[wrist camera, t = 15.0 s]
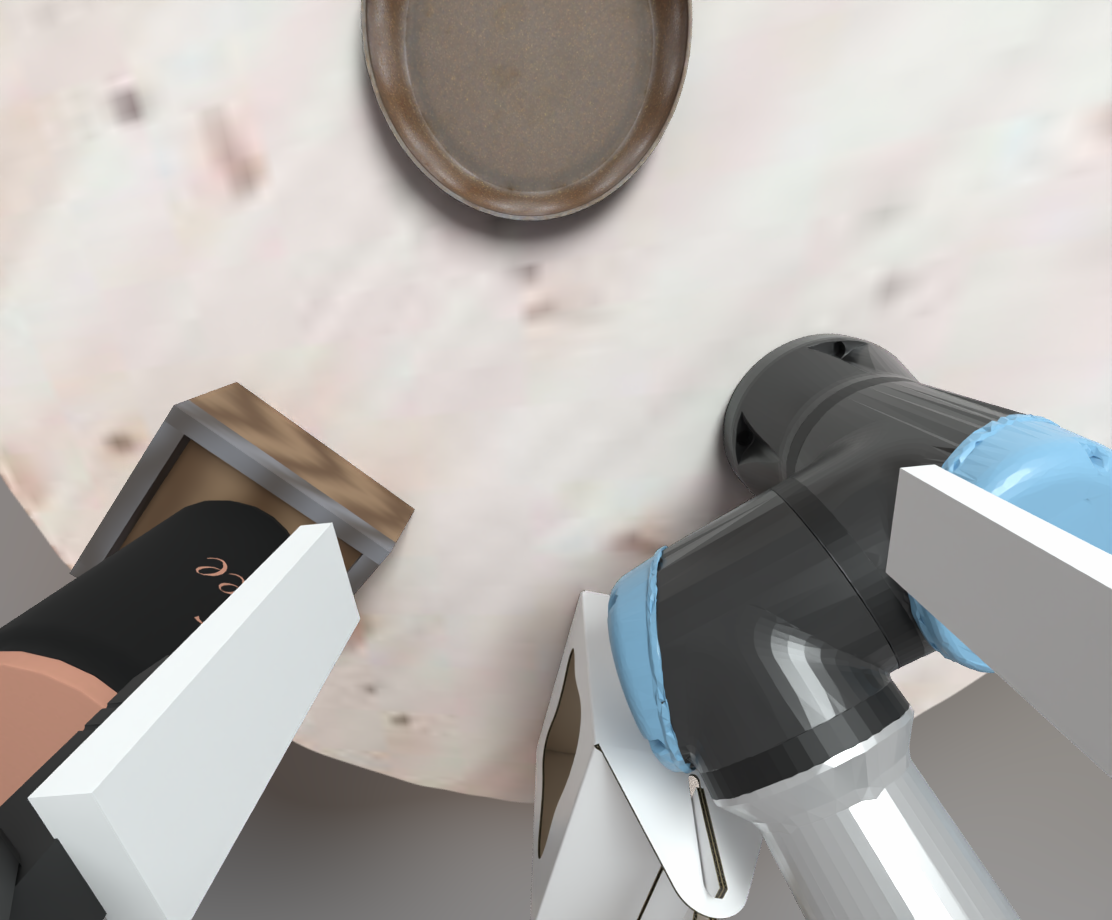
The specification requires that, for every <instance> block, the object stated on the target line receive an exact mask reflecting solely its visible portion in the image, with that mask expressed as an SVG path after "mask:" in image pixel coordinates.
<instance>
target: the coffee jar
mask: <svg viewBox="0 0 1112 920" xmlns="http://www.w3.org/2000/svg"><path fill="white" fill-rule="evenodd" d="M289 537H290V534H289V532H288V531H287V529H286V528H285V527H283V526H282V525H281V524H280V523H279V522H278V521H277V520H276V519H275V518H274V517H273V516H271V515H269V514H268V513H266V512H264V511H262V510H261V509H259V508H257V507H255V506H251V505H247V504H244V503H240V502H234V501H231V500H208V501H202V502H199V503H196V504H193V505H190V506H187V507H184V508H183V509H181V510H180V511H178V512H177V513H175V514H174V515H172V516H170V517H169V518H167V519H166V520H164V521H163V522H161V523H160V524H158V525H157V526H155V527H154V528H152V529H151V530H149V531H148V532H146V533H145V534H143V535H142V536H140V537H139V538H137V539H135V540H134V541H132V542H131V543H129V544H128V545H126V546H125V547H123V548H122V549H120V550H119V551H117V552H116V553H114V554H113V555H111V556H110V557H108V558H107V559H105V560H104V561H102V562H101V563H99V564H97V565H96V566H94V567H93V568H91V569H90V570H88V571H87V572H85V573H84V574H82V575H81V576H79V577H78V578H76V579H75V580H73V581H72V582H70V583H69V584H67V585H66V586H64V587H63V588H61V589H59V590H58V591H57V592H55V593H53V594H52V595H50V596H49V597H47V598H46V599H44V600H43V601H41V602H40V603H38V604H37V605H35V606H34V607H32V608H31V609H29V610H28V611H26V612H24V613H23V614H21V615H20V616H18V617H17V618H15V619H14V620H12V621H11V622H9V623H8V624H7V625H5V626H3V627H2V628H0V806H1V805H2V804H3V803H4V802H5V801H6V800H7V799H8V798H9V797H10V796H12V795H13V794H14V793H15V792H16V791H17V790H18V789H19V788H20V787H21V786H22V785H23V784H24V783H25V782H26V781H27V780H28V779H29V778H30V777H31V776H32V775H33V774H34V773H35V772H36V771H37V770H38V769H40V768H41V767H42V766H43V765H44V764H45V763H46V762H47V761H48V760H49V759H50V758H51V757H52V756H53V755H54V754H55V753H56V752H57V751H58V750H59V749H60V748H61V747H62V746H63V745H64V744H65V743H67V742H68V741H69V740H70V739H71V738H72V737H73V736H74V735H75V734H76V733H77V732H78V731H83V730H84V728H85V726H84V725H85V724H86V723H87V722H88V721H89V720H90V719H91V718H92V717H94V716H95V715H96V714H97V713H98V712H99V711H100V710H101V709H103V708H106V707H107V703H108V702H109V701H110V700H111V699H112V698H113V697H114V696H115V695H116V694H117V693H118V692H119V691H120V690H122V689H123V688H124V687H125V686H126V685H127V684H128V683H129V682H130V681H131V680H132V679H133V678H134V677H136V676H137V675H139V674H140V673H142V672H143V671H145V670H146V669H148V668H149V667H150V666H152V665H153V664H155V663H156V662H158V661H159V660H161V659H162V658H164V657H165V656H167V655H171V654H172V653H173V652H174V651H175V650H176V649H177V648H178V647H179V646H180V645H181V644H182V643H183V642H184V641H185V640H186V639H187V638H188V637H189V636H190V635H191V634H192V633H193V632H194V631H195V630H196V629H197V628H198V627H199V626H200V625H201V624H202V623H203V622H204V621H205V620H206V619H207V618H208V617H209V616H210V615H211V614H212V613H213V612H214V611H215V610H216V609H217V608H218V607H219V606H220V605H221V604H222V603H223V602H224V601H226V600H227V599H228V598H229V597H230V596H231V595H232V594H233V593H234V592H235V591H236V590H237V589H238V588H239V587H240V586H241V585H242V584H243V583H244V582H245V581H246V580H247V579H248V578H249V577H250V576H251V575H252V574H253V573H254V572H255V571H256V570H257V569H258V568H259V567H260V566H261V565H262V564H263V563H264V562H265V561H266V560H267V559H268V558H269V557H270V556H271V555H272V554H273V553H274V552H275V551H276V550H277V549H278V548H279V547H280V546H281V545H282V544H283V543H284V542H285V541H286V540H287V539H288V538H289Z"/></svg>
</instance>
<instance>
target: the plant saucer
mask: <svg viewBox="0 0 1112 920" xmlns="http://www.w3.org/2000/svg"><path fill="white" fill-rule="evenodd" d="M361 26H362V38H363V47H364V54H365V59H366V64H367V69H368V73H369V76H370V80H371V83H372V87H373V90H374V93H375V96H376V99H377V102H378V104H379V107H380V109H381V111H382V113H383V115H384V117H385V119H386V121H387V123H388V125H389V127H390V129H391V131H392V133H393V135H394V136H395V138H396V140H397V141H398V142H399V144H400V145H401V147H402V148H403V150H404V151H405V152H406V154H407V155H408V156H409V158H410V159H411V160H412V161H413V163H414V164H415V165H416V166H417V167H418V168H419V169H420V170H421V171H422V172H423V174H425V175H426V176H427V177H428V178H429V179H430V180H431V181H432V182H433V183H434V184H436V185H437V186H438V187H439V188H441V189H442V190H443V191H444V192H446V193H447V194H449V195H450V196H452V197H453V198H455V199H456V200H458V201H460V202H462V203H464V204H466V205H467V206H469V207H471V208H474V209H476V210H478V211H481V212H484V213H487V214H490V215H493V216H497V217H501V218H506V219H512V220H525V221H532V220H547V219H553V218H558V217H563V216H566V215H569V214H573V213H575V212H578V211H580V210H583V209H585V208H588V207H590V206H592V205H594V204H595V203H597V202H599V201H601V200H603V199H604V198H606V197H607V196H609V195H610V194H612V193H613V192H614V191H616V190H617V189H618V188H619V187H620V186H622V185H623V184H624V183H625V182H626V181H627V180H629V179H630V178H631V177H632V175H633V174H634V173H635V172H636V171H637V170H638V169H639V168H640V167H641V166H642V164H643V163H644V162H645V161H646V160H647V158H648V157H649V156H650V154H651V153H652V152H653V150H654V149H655V147H656V146H657V144H658V143H659V141H660V139H661V138H662V136H663V134H664V132H665V130H666V128H667V126H668V124H669V122H670V120H671V118H672V116H673V114H674V111H675V109H676V106H677V103H678V101H679V98H680V94H681V91H682V88H683V84H684V80H685V77H686V72H687V67H688V62H689V56H690V47H691V38H692V0H361Z"/></svg>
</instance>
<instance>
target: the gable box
mask: <svg viewBox="0 0 1112 920" xmlns="http://www.w3.org/2000/svg"><path fill="white" fill-rule="evenodd" d="M609 598H610V595H607V594H602V593H597V592H591V591H586V590H584V591H583V592H581V593H580V596H579V600H578V603H577V607H576V611H575V614H574V618H573V621H572V625H571V628H570V632H569V635H568V639H567V642H566V646H565V649H564V653H563V656H562V660H561V664H560V667H559V671H558V674H557V678H556V681H555V685H554V688H553V692H552V695H551V699H550V702H549V706H548V709H547V713H546V716H545V720H544V724H543V727H542V731H541V734H540V738H539V741H538V745H537V749H536V777H535V804H534V832H533V834H534V835H533V860H532V862H533V863H532V888H531V916H530V920H717V919H726V918H729V917H732V916H734V915H735V914H737V913H738V912H739V911H740V910H741V909H742V908H743V907H744V905H745V903H746V901H747V898H748V894H749V890H750V886H751V882H752V879H753V875H754V871H755V867H756V863H757V859H758V856H759V852H760V848H761V844H762V840H763V836H762V834H761V832H760V830H759V829H758V828H757V827H756V826H755V825H754V824H752V823H751V822H749V821H747V820H745V819H743V818H741V817H739V816H737V815H735V814H733V813H731V812H728V811H726V810H724V809H722V808H720V807H718V806H716V804H715V803H714V801H713V799H712V798H711V796H710V793H709V791H708V789H707V787H706V785H705V783H704V781H703V779H702V777H701V775H700V773H699V772H698V770H697V769H695V770H694V771H692V772H690V773H688V774H687V773H684V772H673V771H671V770H669V769H667V768H666V767H665V766H663V765H662V764H661V763H660V762H659V760H658V759H657V758H656V757H655V755H654V754H653V753H652V750H651V747H650V744H649V741H648V740H647V739H645V738H644V737H643V736H642V734H641V732H640V731H639V729H638V727H637V725H636V722H635V720H634V718H633V716H632V713H631V711H630V709H629V706H628V704H627V701H626V698H625V696H624V693H623V690H622V687H621V684H620V681H619V678H618V675H617V671H616V668H615V664H614V660H613V655H612V651H611V646H610V641H609V634H608V622H607V618H608V602H609ZM689 776H694V777H696V778H697V780H698V782H699V788H697V787H696V789H695V792H694V794H693V796H692V798H691V795H690V788H689V781H688V777H689Z"/></svg>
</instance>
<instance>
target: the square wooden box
mask: <svg viewBox="0 0 1112 920" xmlns="http://www.w3.org/2000/svg"><path fill="white" fill-rule="evenodd" d="M208 500H231V501H234V502H240V503H244V504H247V505H251V506H255V507H257V508H259V509H261V510H262V511H264V512H266V513H268V514H269V515H271V516H273V517H274V518H275V519H276V520H277V521H278V522H279V523H280V524H281V525H282V526H283V527H285V528H286V529H287V531H288V532H289V534H290V536H291V535H292V534H293V533H294V532H295V531H296V530H297V529H298V528H299V527H300V526H302V525H312V524H322V523H333V527H334V530H335V533H336V537H337V540H338V544H339V547H340V551H341V554H342V558H343V561H344V565H345V568H346V572H347V575H348V578H349V582H350V585H351V589H352V592H353V595H354V594H355V593H356V592H357V591H358V589H359V588H360V587H361V586H362V585H363V584H364V582H365V581H366V580H367V579H368V578H369V577H370V576H371V574H372V573H373V572H374V571H375V570H376V569H377V567H378V566H379V565H380V564H381V563H382V562H383V560H384V559H385V558H386V557H387V556H388V555H389V553H390V552H391V550H392V549H393V547H394V545H395V543H396V542H397V540H398V538H399V536H400V535H401V533H402V531H403V529H404V527H405V526H406V524H407V522H408V520H409V519H410V517H411V515H412V513H413V512H414V510H415V509H413V508H412V507H411V506H409V505H408V504H406V503H405V502H404V501H402V500H401V499H399V498H398V497H397V496H395V495H394V494H392V493H391V492H390V491H388V490H387V489H386V488H384V487H383V486H381V485H380V484H379V483H377V482H376V481H374V480H373V479H372V478H370V477H369V476H367V475H366V474H365V473H363V472H362V471H360V470H359V469H358V468H356V467H355V466H353V465H352V464H351V463H349V462H348V461H346V460H345V459H344V458H342V457H341V456H339V455H338V454H337V453H335V452H334V451H332V450H331V449H330V448H328V447H327V446H325V445H324V444H323V443H321V442H320V441H318V440H317V439H316V438H314V437H313V436H311V435H310V434H309V433H307V432H306V431H304V430H303V429H302V428H300V427H299V426H297V425H296V424H295V423H293V422H292V421H290V420H289V419H288V418H286V417H285V416H283V415H282V414H281V413H279V412H278V411H276V410H275V409H274V408H272V407H271V406H269V405H268V404H267V403H265V402H264V401H262V400H261V399H260V398H258V397H257V396H255V395H254V394H253V393H251V392H250V391H248V390H247V389H246V388H244V387H243V386H241V385H240V384H239V383H237V382H236V383H233V384H230V385H227V386H225V387H222V388H219V389H217V390H214V391H211V392H208V393H206V394H203V395H200V396H198V397H195V398H192V399H189V400H187V401H184V402H181V403H179V404H176V405H174V406H173V408H172V409H171V411H170V412H169V414H168V416H167V417H166V419H165V421H164V422H163V424H162V425H161V427H160V429H159V430H158V432H157V433H156V435H155V437H154V438H153V440H152V441H151V443H150V445H149V446H148V448H147V450H146V451H145V453H144V454H143V456H142V458H141V459H140V461H139V462H138V464H137V466H136V467H135V469H134V471H133V472H132V474H131V475H130V477H129V479H128V480H127V482H126V483H125V485H124V487H123V488H122V490H121V491H120V493H119V495H118V496H117V498H116V500H115V501H114V503H113V504H112V506H111V508H110V509H109V511H108V512H107V514H106V516H105V517H104V519H103V520H102V522H101V524H100V525H99V527H98V529H97V530H96V532H95V533H94V535H93V537H92V538H91V540H90V541H89V543H88V545H87V546H86V548H85V550H84V551H83V553H82V554H81V556H80V558H79V559H78V561H77V562H76V564H75V566H74V567H73V569H72V570H71V572H70V574H71V575H73V576H75V577H77V578H78V577H79V576H81V575H82V574H84V573H85V572H87V571H88V570H90V569H91V568H93V567H94V566H96V565H97V564H99V563H101V562H102V561H104V560H105V559H107V558H108V557H110V556H111V555H113V554H114V553H116V552H117V551H119V550H120V549H122V548H123V547H125V546H126V545H128V544H129V543H131V542H132V541H134V540H135V539H137V538H139V537H140V536H142V535H143V534H145V533H146V532H148V531H149V530H151V529H152V528H154V527H155V526H157V525H158V524H160V523H161V522H163V521H164V520H166V519H167V518H169V517H170V516H172V515H174V514H175V513H177V512H178V511H180V510H181V509H183V508H184V507H187V506H190V505H193V504H196V503H199V502H202V501H208Z"/></svg>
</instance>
